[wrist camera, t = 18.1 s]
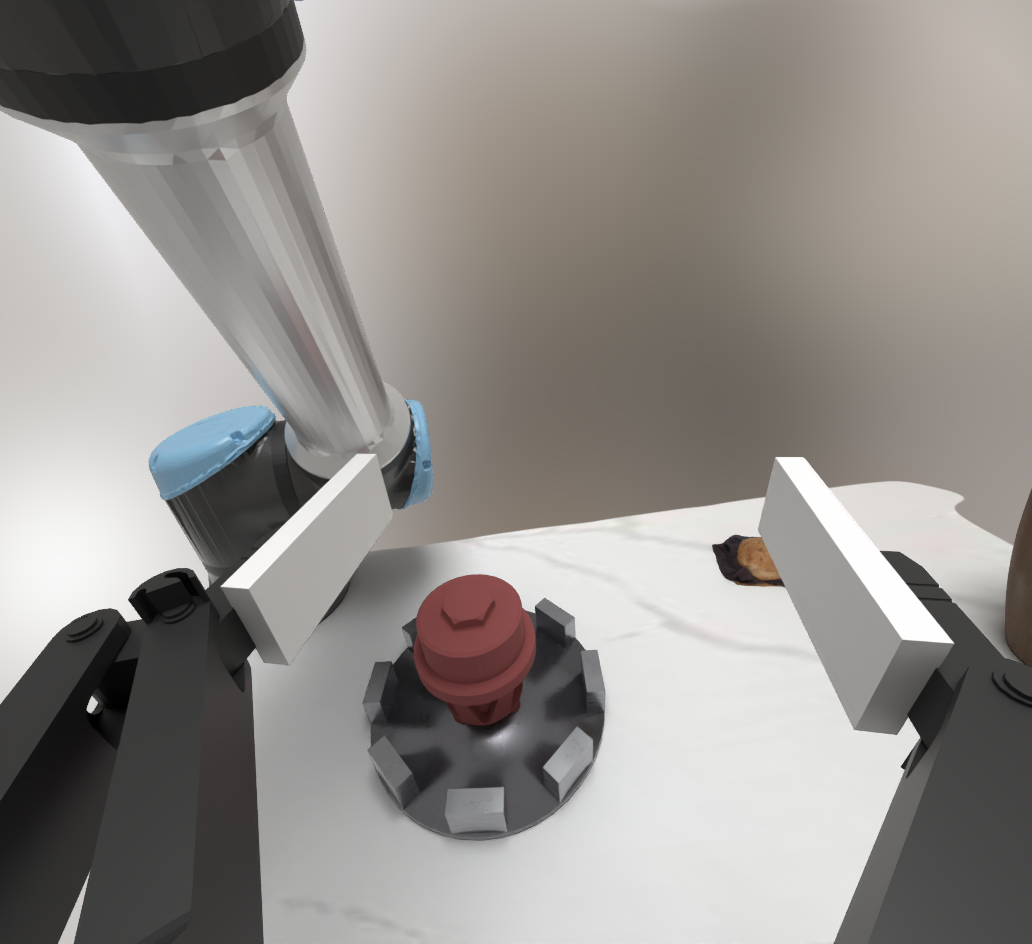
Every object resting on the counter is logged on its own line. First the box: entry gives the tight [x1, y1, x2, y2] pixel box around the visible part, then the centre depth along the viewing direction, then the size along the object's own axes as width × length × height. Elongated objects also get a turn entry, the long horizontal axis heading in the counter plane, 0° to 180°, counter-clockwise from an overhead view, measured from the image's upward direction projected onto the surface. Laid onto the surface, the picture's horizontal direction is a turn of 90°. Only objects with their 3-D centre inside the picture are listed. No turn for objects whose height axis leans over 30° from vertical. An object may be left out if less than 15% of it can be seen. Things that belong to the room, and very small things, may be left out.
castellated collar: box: [363, 598, 605, 840], centre depth 39 cm, size 21×21×4 cm
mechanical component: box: [414, 574, 536, 725], centre depth 37 cm, size 12×10×10 cm
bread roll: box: [712, 535, 785, 587], centre depth 52 cm, size 11×8×4 cm
